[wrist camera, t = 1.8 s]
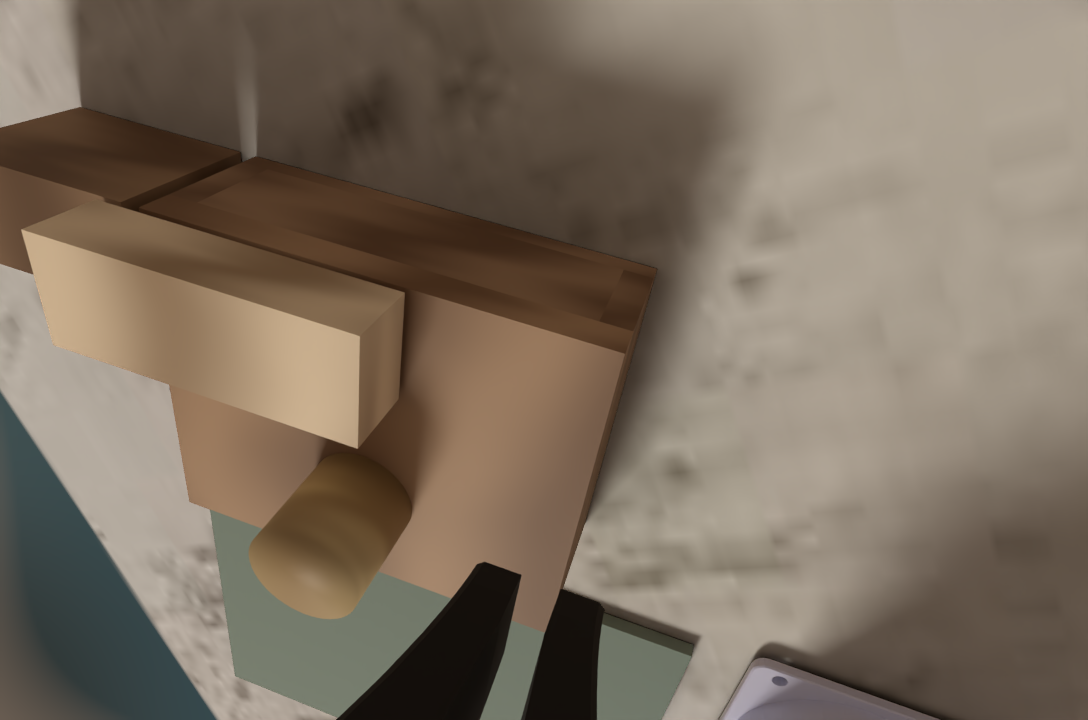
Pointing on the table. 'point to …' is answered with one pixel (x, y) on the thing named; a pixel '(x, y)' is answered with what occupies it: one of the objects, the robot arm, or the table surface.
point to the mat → (393, 625)
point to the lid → (415, 443)
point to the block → (220, 318)
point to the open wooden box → (303, 217)
